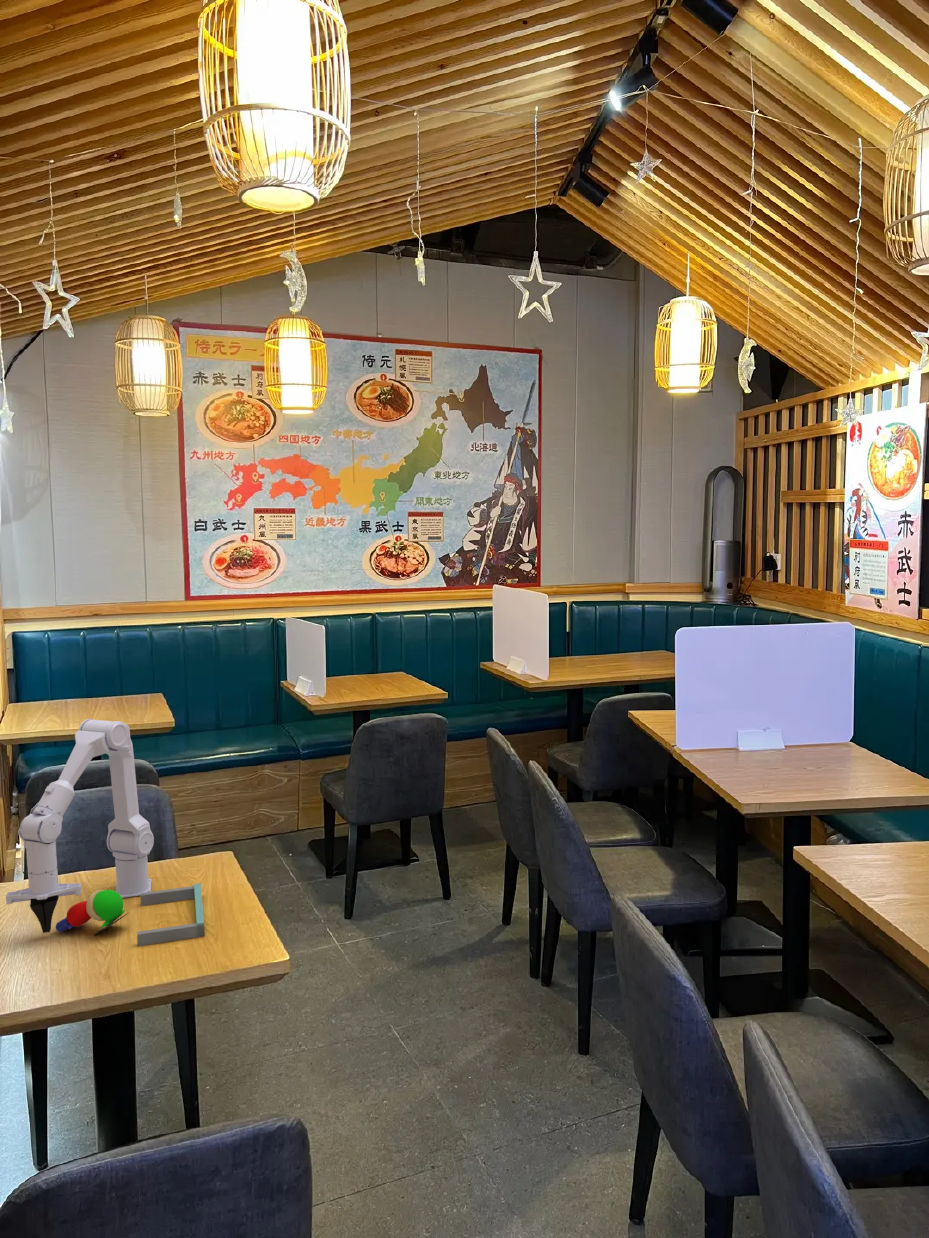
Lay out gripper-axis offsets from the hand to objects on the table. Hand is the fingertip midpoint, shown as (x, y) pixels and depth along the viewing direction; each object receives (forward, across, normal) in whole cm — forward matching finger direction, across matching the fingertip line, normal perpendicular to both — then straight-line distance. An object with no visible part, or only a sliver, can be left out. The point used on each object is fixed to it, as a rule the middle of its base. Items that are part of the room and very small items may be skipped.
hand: (46, 930), depth 194 cm
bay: (+1, +25, 0) cm, 25 cm away
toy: (+2, +9, 0) cm, 9 cm away
